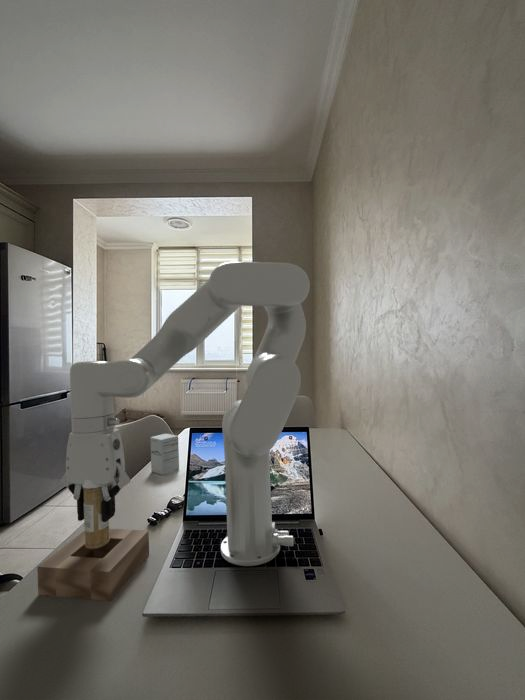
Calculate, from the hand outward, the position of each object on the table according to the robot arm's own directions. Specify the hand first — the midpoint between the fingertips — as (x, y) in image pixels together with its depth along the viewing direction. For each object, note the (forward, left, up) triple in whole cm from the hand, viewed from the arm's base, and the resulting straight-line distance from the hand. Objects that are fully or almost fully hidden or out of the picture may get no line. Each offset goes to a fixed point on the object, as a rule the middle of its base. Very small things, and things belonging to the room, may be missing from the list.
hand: (96, 517), depth 69 cm
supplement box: (+13, -58, -11) cm, 60 cm away
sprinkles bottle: (0, 0, -5) cm, 5 cm away
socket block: (0, 0, -11) cm, 11 cm away
